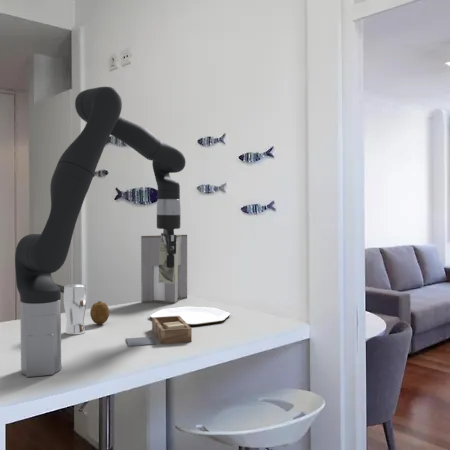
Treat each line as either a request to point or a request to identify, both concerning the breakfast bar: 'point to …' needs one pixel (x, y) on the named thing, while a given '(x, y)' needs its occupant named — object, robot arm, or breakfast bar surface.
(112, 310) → the breakfast bar surface
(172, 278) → the box
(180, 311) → the plate
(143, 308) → the breakfast bar surface
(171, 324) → the offcut
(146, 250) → the cabinet
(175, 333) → the wooden tray
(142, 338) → the mat
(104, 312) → the fruit
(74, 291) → the beer glass
